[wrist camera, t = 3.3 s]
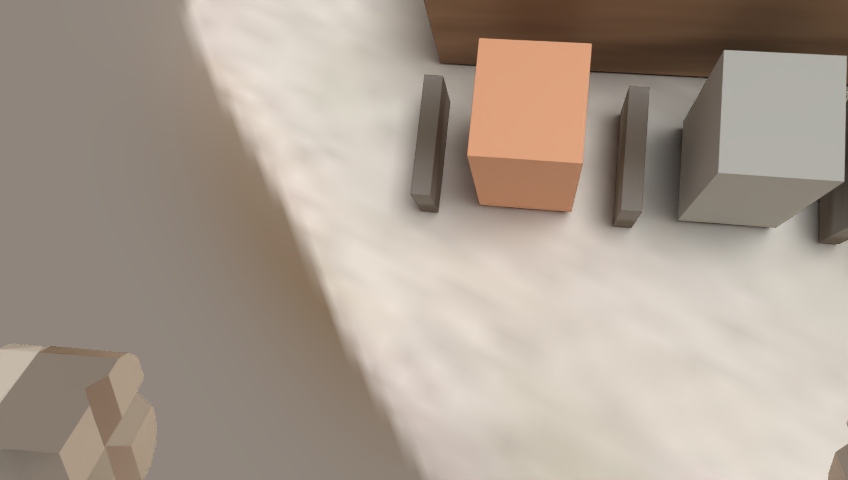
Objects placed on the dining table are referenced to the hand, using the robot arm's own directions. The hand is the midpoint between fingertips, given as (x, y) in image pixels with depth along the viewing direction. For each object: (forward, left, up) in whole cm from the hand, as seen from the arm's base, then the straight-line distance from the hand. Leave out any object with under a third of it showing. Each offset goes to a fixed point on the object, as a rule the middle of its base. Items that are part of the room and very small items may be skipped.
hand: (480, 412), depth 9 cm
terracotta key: (+9, -4, -26) cm, 28 cm away
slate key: (+6, -12, -26) cm, 29 cm away
